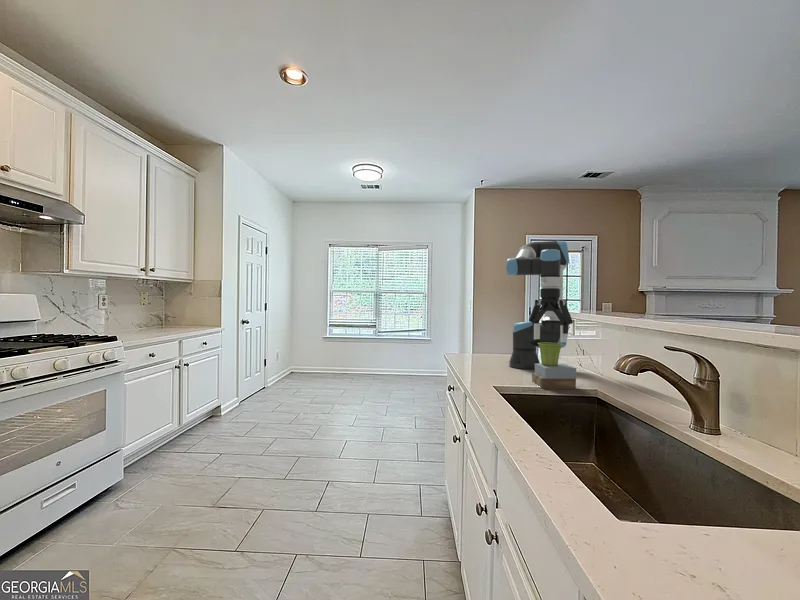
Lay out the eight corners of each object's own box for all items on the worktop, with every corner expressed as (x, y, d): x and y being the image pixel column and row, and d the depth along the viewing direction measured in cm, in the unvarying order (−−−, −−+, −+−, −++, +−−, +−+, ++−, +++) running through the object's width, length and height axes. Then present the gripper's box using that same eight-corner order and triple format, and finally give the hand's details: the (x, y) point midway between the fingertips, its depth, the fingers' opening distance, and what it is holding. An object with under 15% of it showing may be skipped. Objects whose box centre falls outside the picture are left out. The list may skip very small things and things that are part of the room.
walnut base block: (532, 383, 172) (532, 372, 172) (563, 383, 172) (563, 372, 172) (541, 390, 159) (541, 378, 159) (575, 390, 159) (575, 378, 159)
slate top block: (534, 373, 171) (534, 363, 171) (563, 373, 171) (563, 363, 171) (545, 378, 159) (545, 368, 159) (576, 378, 159) (576, 368, 159)
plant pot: (558, 363, 171) (558, 342, 171) (565, 367, 162) (565, 344, 162) (535, 362, 172) (535, 342, 172) (540, 366, 163) (540, 344, 163)
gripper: (520, 288, 176) (520, 338, 176) (569, 286, 154) (569, 343, 154) (533, 288, 180) (533, 337, 180) (582, 287, 158) (582, 343, 158)
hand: (549, 340), depth 167 cm, fingers open, 13 cm apart
